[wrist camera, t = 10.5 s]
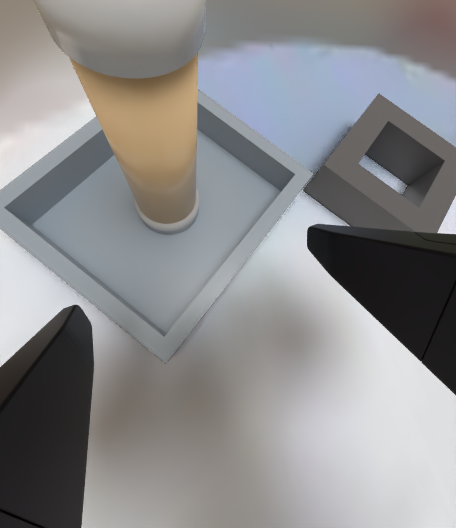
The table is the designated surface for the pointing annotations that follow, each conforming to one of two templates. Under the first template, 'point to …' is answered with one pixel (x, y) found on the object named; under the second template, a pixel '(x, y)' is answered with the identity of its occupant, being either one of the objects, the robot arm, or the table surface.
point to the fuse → (141, 93)
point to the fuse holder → (398, 163)
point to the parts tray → (140, 236)
